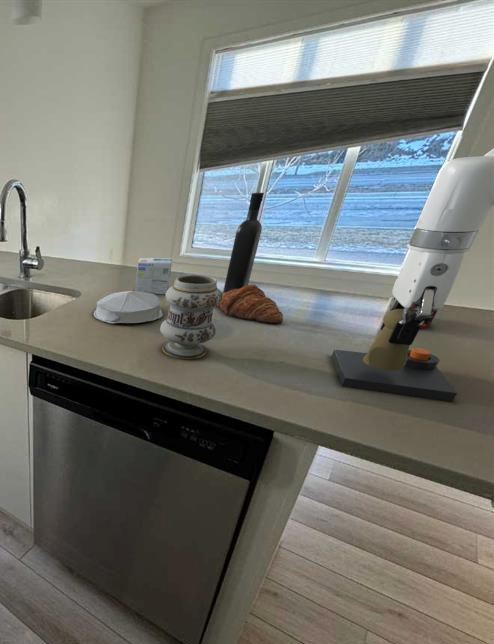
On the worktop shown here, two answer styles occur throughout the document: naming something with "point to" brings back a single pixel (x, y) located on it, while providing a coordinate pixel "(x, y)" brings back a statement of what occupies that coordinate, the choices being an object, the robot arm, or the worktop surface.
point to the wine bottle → (245, 247)
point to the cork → (388, 346)
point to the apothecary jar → (190, 315)
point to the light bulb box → (153, 275)
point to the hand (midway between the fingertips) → (395, 336)
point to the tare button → (420, 354)
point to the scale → (394, 376)
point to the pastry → (250, 305)
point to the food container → (128, 307)
